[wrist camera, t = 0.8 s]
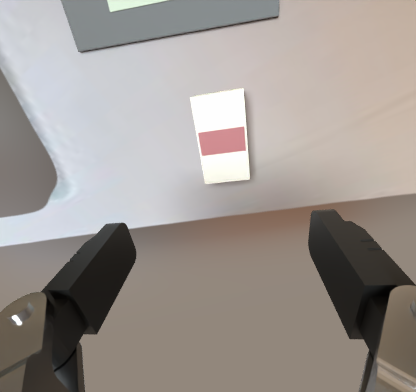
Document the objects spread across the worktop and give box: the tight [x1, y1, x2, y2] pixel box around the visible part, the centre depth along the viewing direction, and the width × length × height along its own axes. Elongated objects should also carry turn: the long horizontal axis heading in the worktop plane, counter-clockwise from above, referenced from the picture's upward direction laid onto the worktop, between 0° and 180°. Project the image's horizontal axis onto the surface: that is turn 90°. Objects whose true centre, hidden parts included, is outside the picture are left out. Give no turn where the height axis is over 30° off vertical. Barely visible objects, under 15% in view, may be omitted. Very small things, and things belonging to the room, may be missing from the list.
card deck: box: [190, 88, 250, 184], centre depth 23 cm, size 5×9×4 cm, turn 9°
